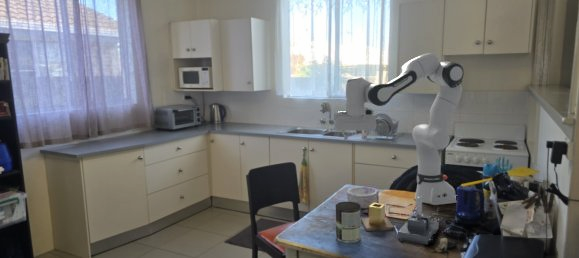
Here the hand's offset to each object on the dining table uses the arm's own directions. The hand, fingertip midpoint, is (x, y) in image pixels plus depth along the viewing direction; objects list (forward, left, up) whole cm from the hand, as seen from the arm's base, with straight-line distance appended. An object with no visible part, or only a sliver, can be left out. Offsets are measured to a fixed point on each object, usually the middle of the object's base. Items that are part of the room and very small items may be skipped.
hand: (355, 139), depth 201 cm
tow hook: (-8, +11, -35) cm, 38 cm away
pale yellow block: (-5, +23, -34) cm, 41 cm away
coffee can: (+10, +35, -35) cm, 51 cm away
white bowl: (-4, -3, -35) cm, 36 cm away
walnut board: (-5, +23, -35) cm, 42 cm away
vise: (-20, +34, -35) cm, 53 cm away
